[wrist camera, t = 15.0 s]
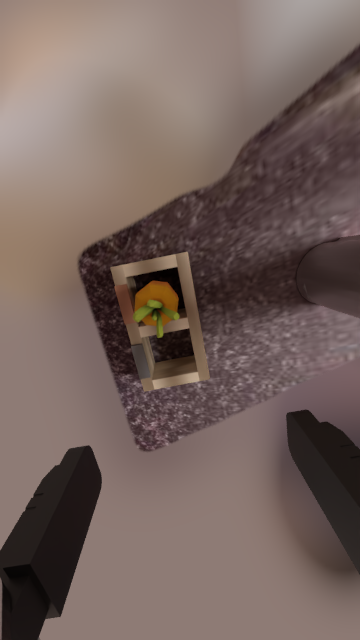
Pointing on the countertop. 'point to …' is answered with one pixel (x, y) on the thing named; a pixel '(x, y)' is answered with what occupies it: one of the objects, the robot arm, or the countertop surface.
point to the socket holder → (139, 333)
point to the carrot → (156, 305)
